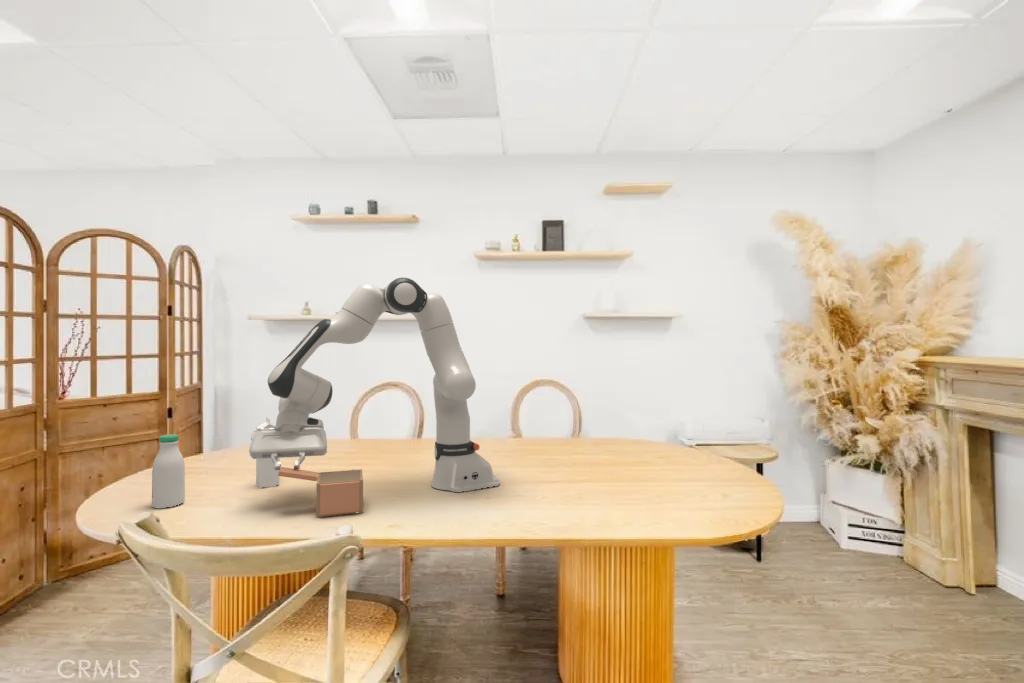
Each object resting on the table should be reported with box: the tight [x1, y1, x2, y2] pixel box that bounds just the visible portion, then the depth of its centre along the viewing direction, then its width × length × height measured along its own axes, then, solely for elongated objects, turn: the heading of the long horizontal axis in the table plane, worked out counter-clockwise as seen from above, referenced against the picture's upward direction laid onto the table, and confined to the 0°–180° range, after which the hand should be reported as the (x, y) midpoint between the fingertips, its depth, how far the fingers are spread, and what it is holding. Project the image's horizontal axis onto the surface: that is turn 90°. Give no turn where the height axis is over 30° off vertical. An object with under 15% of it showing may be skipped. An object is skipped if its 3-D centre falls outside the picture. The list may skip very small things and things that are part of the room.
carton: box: [315, 468, 364, 518], centre depth 139 cm, size 12×13×9 cm
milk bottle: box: [151, 433, 186, 509], centre depth 142 cm, size 8×8×20 cm
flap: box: [278, 466, 320, 482], centre depth 136 cm, size 1×5×10 cm
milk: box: [255, 416, 281, 489], centre depth 162 cm, size 6×6×22 cm
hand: (287, 468), depth 136 cm, fingers closed on flap, 3 cm apart
